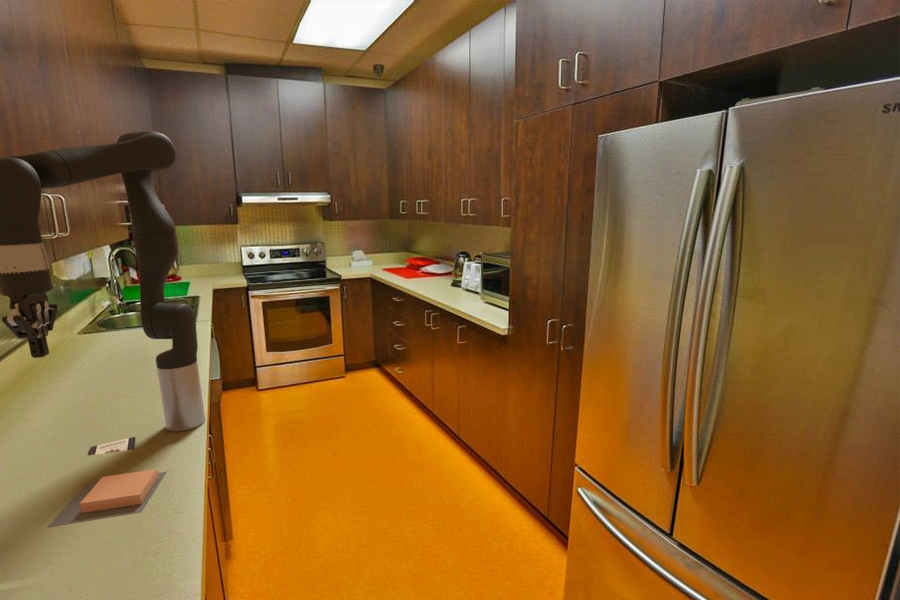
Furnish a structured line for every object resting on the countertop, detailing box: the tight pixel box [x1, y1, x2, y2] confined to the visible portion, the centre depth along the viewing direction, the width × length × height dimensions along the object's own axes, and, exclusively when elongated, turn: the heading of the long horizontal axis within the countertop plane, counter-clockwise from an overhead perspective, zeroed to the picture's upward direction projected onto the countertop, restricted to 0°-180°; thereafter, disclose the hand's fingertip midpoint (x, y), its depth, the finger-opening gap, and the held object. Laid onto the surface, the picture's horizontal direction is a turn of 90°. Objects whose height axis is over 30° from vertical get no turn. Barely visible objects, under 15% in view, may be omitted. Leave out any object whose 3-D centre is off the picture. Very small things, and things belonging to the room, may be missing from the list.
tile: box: [80, 468, 159, 513], centre depth 90 cm, size 9×2×10 cm
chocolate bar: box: [87, 436, 136, 456], centre depth 105 cm, size 9×1×18 cm
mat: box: [47, 471, 168, 528], centre depth 90 cm, size 14×15×1 cm
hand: (40, 356), depth 89 cm, fingers closed
